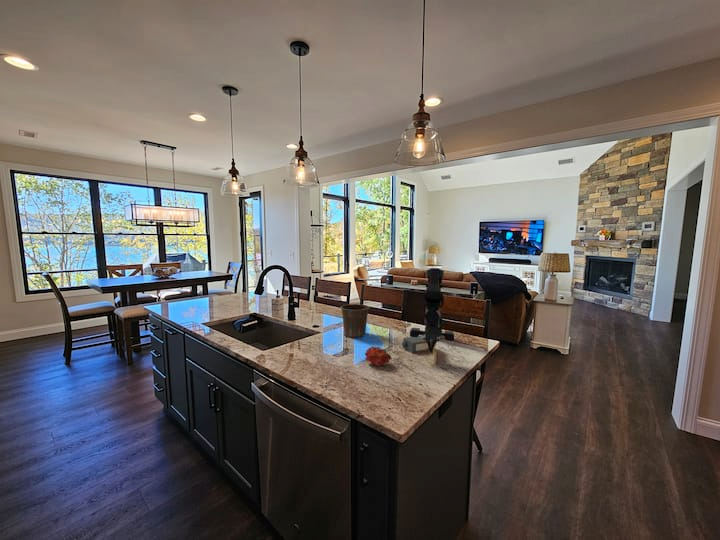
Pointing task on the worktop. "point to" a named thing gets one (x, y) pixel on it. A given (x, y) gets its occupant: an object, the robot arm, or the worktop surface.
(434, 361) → the side door
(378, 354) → the dragon fruit
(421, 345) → the action camera body
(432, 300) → the robot arm
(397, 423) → the worktop surface
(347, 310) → the plant pot
